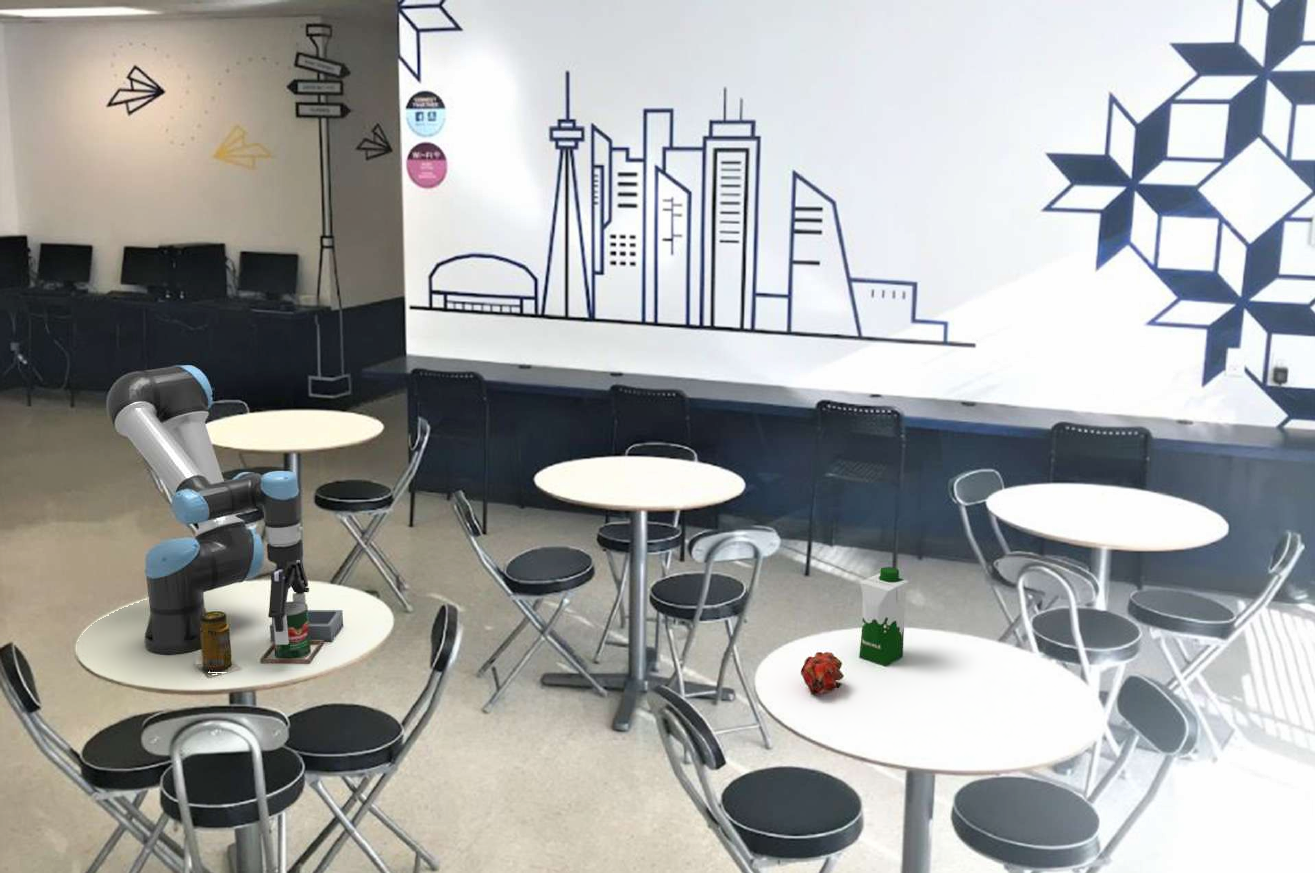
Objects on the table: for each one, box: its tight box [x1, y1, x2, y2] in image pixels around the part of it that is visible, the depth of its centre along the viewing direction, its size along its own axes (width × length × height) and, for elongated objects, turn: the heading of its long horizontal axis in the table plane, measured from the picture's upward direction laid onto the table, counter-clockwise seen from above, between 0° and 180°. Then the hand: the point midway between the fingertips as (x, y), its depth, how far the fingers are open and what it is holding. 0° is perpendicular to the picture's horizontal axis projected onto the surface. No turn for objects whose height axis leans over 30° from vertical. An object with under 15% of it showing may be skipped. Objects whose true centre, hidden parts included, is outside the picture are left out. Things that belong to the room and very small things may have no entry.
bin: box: [269, 609, 344, 643], centre depth 286 cm, size 14×10×4 cm
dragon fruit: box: [800, 651, 845, 696], centre depth 256 cm, size 8×8×12 cm
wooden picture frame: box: [259, 640, 325, 665], centre depth 276 cm, size 11×11×1 cm
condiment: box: [195, 610, 243, 678], centre depth 267 cm, size 7×8×12 cm
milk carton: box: [858, 566, 909, 667], centre depth 271 cm, size 9×9×20 cm
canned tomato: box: [271, 600, 312, 659], centre depth 275 cm, size 8×8×11 cm
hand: (291, 632), depth 274 cm, fingers open, 13 cm apart
